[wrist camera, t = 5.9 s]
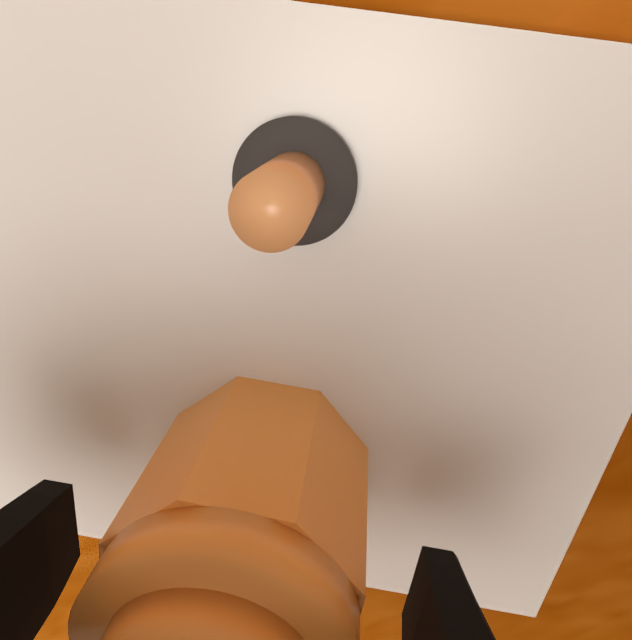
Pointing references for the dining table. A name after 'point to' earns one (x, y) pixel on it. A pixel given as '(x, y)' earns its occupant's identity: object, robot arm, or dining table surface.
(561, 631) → the dining table surface
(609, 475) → the dining table surface
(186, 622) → the acorn nut
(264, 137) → the junction plate
